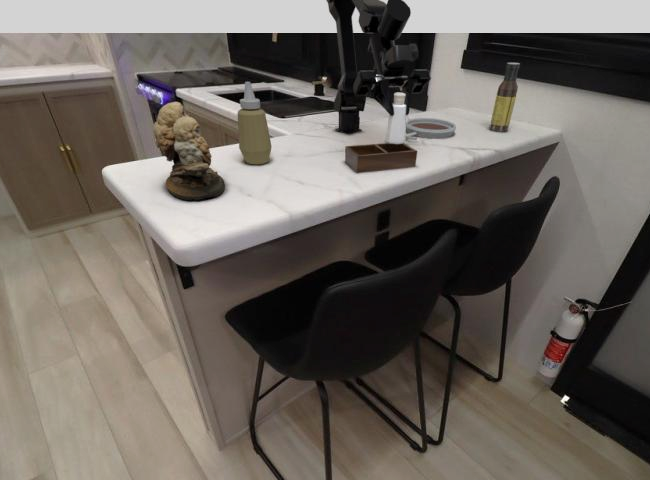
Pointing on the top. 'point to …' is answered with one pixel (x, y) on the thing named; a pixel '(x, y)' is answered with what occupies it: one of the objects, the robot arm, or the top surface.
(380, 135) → the top surface
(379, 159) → the divided wooden tray
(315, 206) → the top surface
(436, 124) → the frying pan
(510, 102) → the sauce bottle
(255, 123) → the squeeze bottle
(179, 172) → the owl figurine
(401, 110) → the pepper shaker
